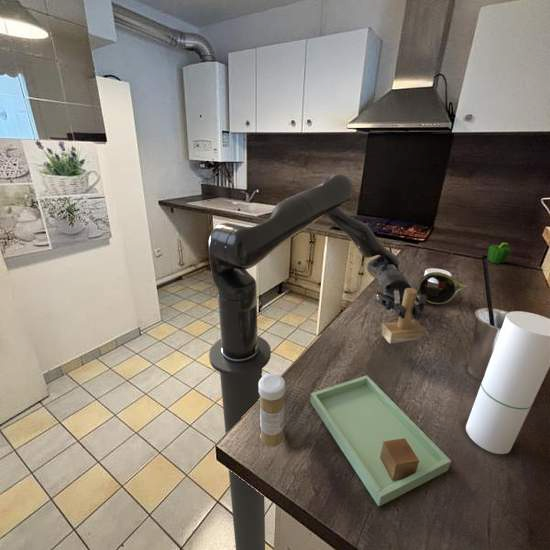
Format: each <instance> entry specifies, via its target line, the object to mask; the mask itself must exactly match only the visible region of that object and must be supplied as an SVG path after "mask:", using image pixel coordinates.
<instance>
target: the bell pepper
mask: <svg viewBox="0 0 550 550" xmlns="http://www.w3.org/2000/svg"><path fill="white" fill-rule="evenodd" d="M508 245H509V243H508V242H501V244H500V245H498V244H494V245H492V244H491V245H490V246H488V249H487V258H488V262H490V263H492V264H497V265H498V264H499V265H500V264H504V263H505V262H506V260H508V257H509V256H510V254H511V248H510V247H508Z"/></svg>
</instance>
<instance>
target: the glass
mask: <svg viewBox="0 0 550 550" xmlns="http://www.w3.org/2000/svg"><path fill="white" fill-rule="evenodd" d="M481 261H482V270H483V278H484V287H485V295H486V296H485V297H486V304H487V307H481V308H479V309H476V310H475V312H474V316H475V321H474V322H475V323H474V329H473V334H472V340H471V347H470V353H469V358H468V363H467V367H466V370H467V372H468V374H469V375H470V376H471V377H473V378H474V379H476V380H478V381H480V382H482V380H483V378H484V375H485V372H486V369H487V367H488V364H489V361H490V358H491V356H492V353H493V350H494V347H495V345H496V342H497V339H498V336H499V334H500V331H501V328H502V325H503V323H504V320H505V317H506V314H507V313H509V312H510V311H507V310H502V309H497V308H494V305H493V296H492V287H491V278H490V269H489V260H488V255H484V256H482V257H481Z"/></svg>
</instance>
